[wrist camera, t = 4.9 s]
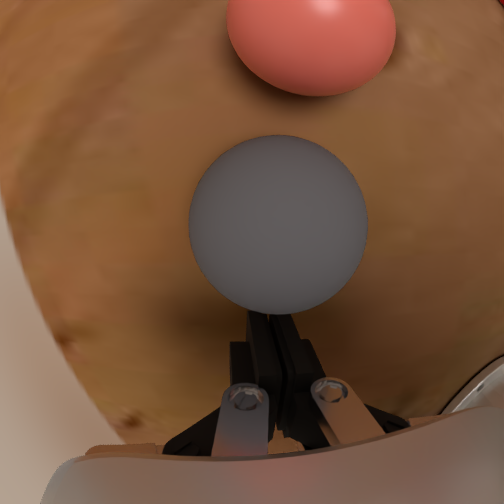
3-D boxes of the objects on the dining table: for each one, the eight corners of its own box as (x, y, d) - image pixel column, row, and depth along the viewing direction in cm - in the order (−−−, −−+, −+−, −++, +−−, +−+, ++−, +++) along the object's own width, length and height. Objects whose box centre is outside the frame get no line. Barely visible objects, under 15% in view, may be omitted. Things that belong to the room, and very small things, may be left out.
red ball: (377, 74, 10) (458, 41, 5) (279, 133, 11) (324, 112, 6) (304, -16, 9) (343, -86, 3) (199, 34, 9) (182, -43, 4)
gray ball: (412, 296, 8) (374, 148, 10) (285, 283, 5) (258, 67, 6) (287, 324, 12) (276, 205, 14) (158, 320, 9) (166, 170, 11)
